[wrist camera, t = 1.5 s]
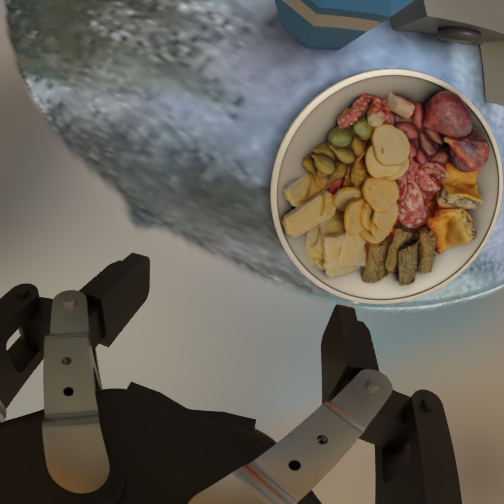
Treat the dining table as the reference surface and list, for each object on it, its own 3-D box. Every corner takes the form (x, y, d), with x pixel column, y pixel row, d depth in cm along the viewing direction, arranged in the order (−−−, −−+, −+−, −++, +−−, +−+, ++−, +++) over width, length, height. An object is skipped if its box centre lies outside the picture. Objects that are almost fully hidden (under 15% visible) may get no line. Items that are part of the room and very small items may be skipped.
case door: (442, -74, 10) (474, -98, 2) (453, -70, 10) (486, -93, 1) (485, 101, 24) (533, 116, 16) (494, 102, 24) (543, 118, 15)
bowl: (417, 302, 43) (430, 338, 37) (244, 243, 42) (233, 278, 35) (512, 144, 26) (545, 163, 20) (322, 28, 25) (329, 14, 18)
